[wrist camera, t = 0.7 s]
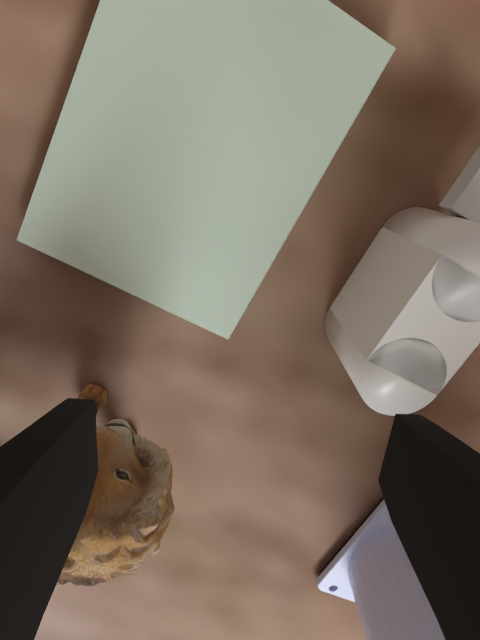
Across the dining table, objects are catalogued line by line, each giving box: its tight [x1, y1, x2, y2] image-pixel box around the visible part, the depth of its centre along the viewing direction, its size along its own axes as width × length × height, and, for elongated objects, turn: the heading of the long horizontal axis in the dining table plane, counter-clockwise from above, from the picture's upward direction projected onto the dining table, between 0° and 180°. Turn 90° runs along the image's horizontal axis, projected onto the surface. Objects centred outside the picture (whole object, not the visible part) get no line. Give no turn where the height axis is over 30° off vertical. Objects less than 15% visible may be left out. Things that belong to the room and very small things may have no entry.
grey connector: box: [324, 146, 480, 416], centre depth 15 cm, size 3×9×5 cm, turn 151°
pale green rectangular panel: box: [17, 0, 396, 339], centre depth 15 cm, size 9×12×1 cm
